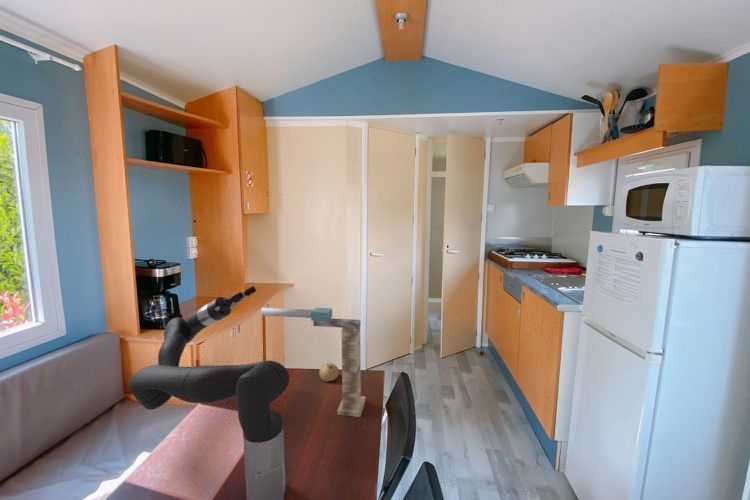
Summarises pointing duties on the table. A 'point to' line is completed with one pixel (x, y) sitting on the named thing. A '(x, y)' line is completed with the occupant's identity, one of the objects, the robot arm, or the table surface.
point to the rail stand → (349, 365)
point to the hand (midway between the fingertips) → (248, 291)
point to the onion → (328, 372)
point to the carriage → (300, 313)
